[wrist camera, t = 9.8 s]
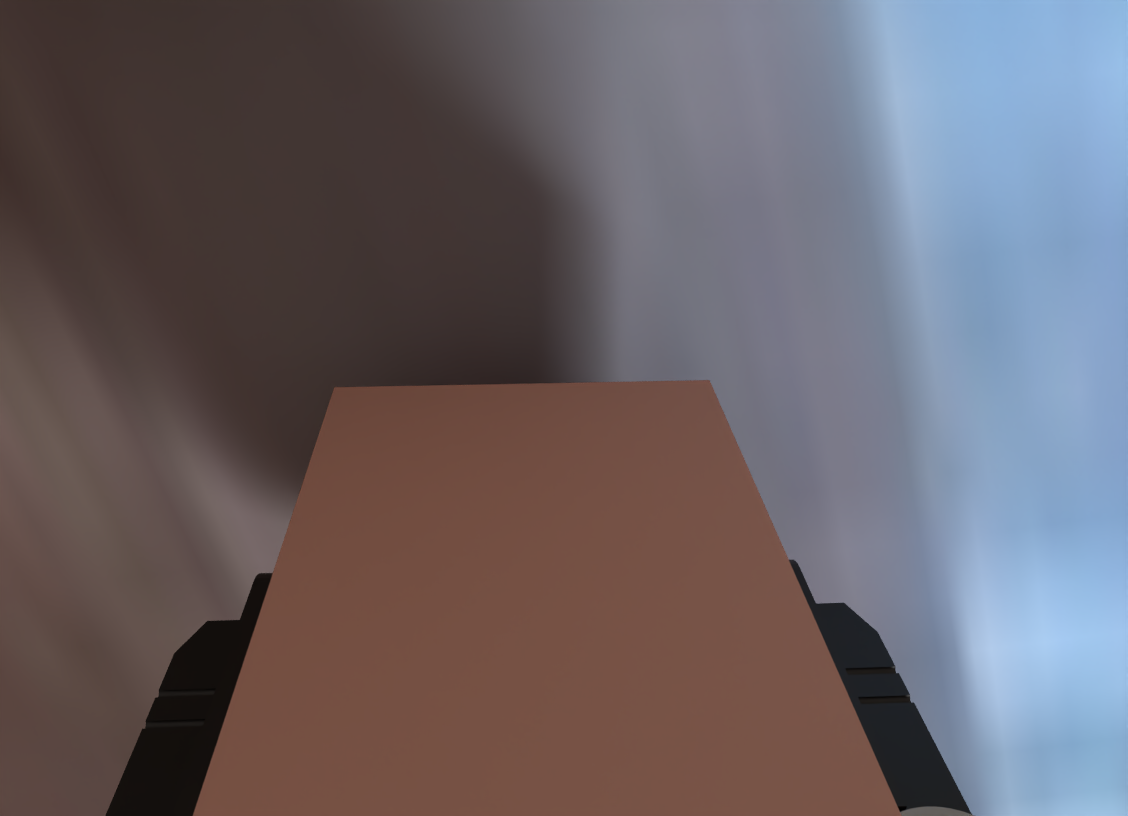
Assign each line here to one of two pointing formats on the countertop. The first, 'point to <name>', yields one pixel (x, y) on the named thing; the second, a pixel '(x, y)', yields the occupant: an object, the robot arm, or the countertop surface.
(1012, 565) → the countertop surface
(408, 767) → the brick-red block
